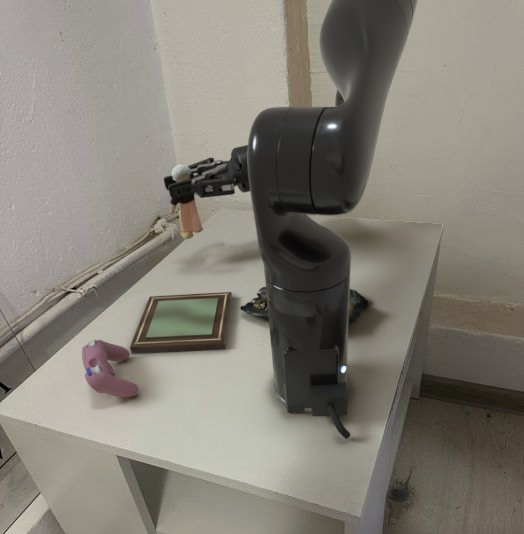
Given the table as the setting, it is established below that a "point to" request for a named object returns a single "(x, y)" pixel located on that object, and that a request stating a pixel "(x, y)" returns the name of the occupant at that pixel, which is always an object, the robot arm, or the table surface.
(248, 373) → the table surface
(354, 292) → the decorative rock
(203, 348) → the board
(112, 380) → the video game controller
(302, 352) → the robot arm
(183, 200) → the grandmother figurine
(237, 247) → the table surface
